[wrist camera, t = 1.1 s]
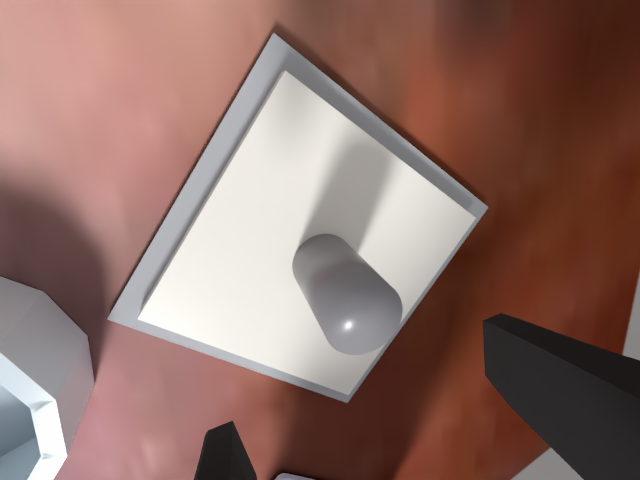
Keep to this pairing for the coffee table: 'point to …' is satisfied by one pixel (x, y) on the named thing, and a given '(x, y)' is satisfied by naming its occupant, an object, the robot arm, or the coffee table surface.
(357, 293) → the lid
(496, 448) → the coffee table surface
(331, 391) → the mat
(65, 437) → the bowl
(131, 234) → the coffee table surface
